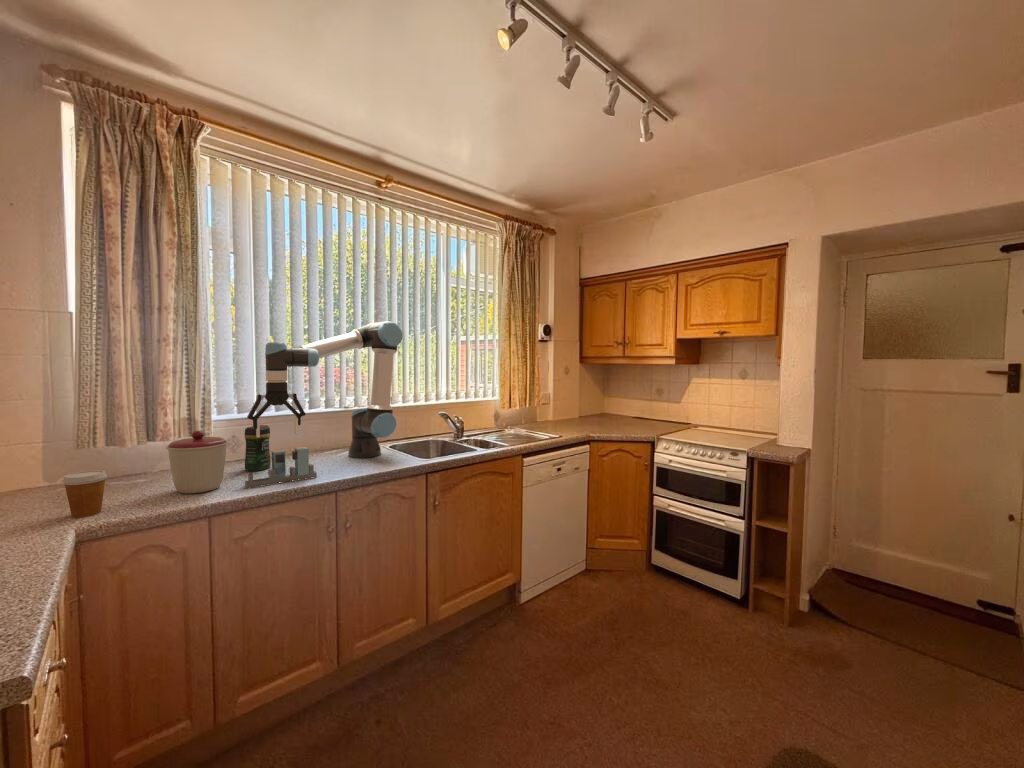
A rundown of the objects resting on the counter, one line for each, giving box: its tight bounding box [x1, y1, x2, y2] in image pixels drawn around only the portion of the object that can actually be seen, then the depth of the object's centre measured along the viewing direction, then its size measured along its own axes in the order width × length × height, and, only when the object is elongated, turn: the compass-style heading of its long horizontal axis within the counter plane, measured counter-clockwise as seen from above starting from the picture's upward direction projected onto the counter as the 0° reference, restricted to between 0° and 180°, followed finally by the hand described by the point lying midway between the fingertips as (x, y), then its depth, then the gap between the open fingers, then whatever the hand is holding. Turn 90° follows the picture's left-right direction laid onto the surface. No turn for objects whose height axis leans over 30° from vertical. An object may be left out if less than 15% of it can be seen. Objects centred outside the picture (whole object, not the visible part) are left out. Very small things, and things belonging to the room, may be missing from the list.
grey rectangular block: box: [271, 449, 287, 477], centre depth 172 cm, size 5×4×10 cm
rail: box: [244, 446, 318, 489], centre depth 165 cm, size 24×4×12 cm, turn 130°
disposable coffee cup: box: [61, 469, 108, 518], centre depth 129 cm, size 10×10×12 cm
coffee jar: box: [243, 424, 272, 472], centre depth 184 cm, size 10×8×19 cm
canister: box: [165, 430, 230, 494], centre depth 153 cm, size 18×18×21 cm
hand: (277, 435), depth 172 cm, fingers open, 13 cm apart
